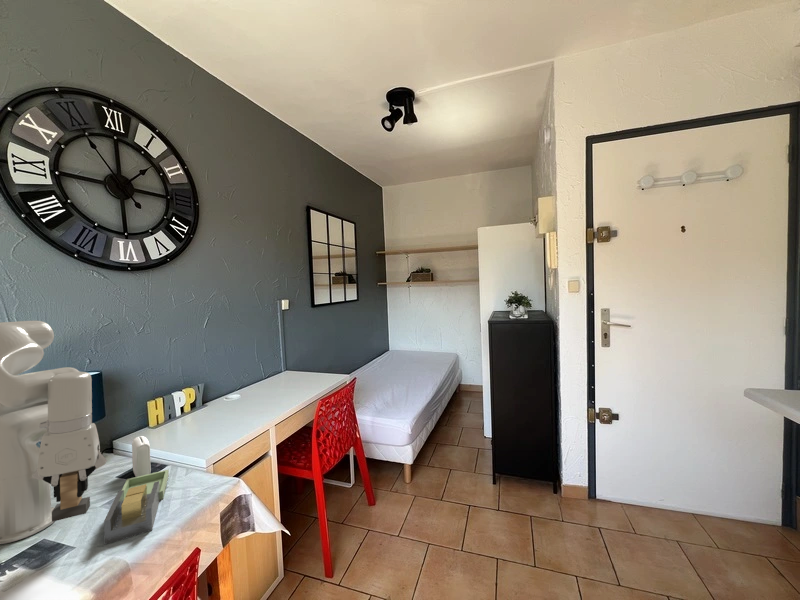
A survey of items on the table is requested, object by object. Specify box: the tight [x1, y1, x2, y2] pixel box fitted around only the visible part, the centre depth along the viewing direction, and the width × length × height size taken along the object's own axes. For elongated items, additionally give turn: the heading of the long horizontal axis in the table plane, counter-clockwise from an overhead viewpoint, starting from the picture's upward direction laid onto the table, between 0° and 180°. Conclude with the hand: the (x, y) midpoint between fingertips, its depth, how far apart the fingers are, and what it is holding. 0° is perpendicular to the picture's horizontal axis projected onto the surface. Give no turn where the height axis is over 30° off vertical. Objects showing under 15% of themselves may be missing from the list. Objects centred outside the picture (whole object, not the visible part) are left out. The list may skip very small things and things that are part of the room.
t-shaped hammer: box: [52, 471, 91, 523], centre depth 79 cm, size 6×3×10 cm, turn 121°
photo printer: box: [131, 435, 152, 477], centre depth 111 cm, size 10×4×12 cm, turn 47°
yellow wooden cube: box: [122, 492, 144, 520], centre depth 86 cm, size 4×4×4 cm
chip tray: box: [121, 469, 170, 501], centre depth 100 cm, size 11×14×2 cm
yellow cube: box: [126, 484, 147, 505], centre depth 90 cm, size 4×4×4 cm
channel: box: [103, 481, 161, 545], centre depth 87 cm, size 9×14×6 cm
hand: (71, 495), depth 79 cm, fingers closed on t-shaped hammer, 3 cm apart
